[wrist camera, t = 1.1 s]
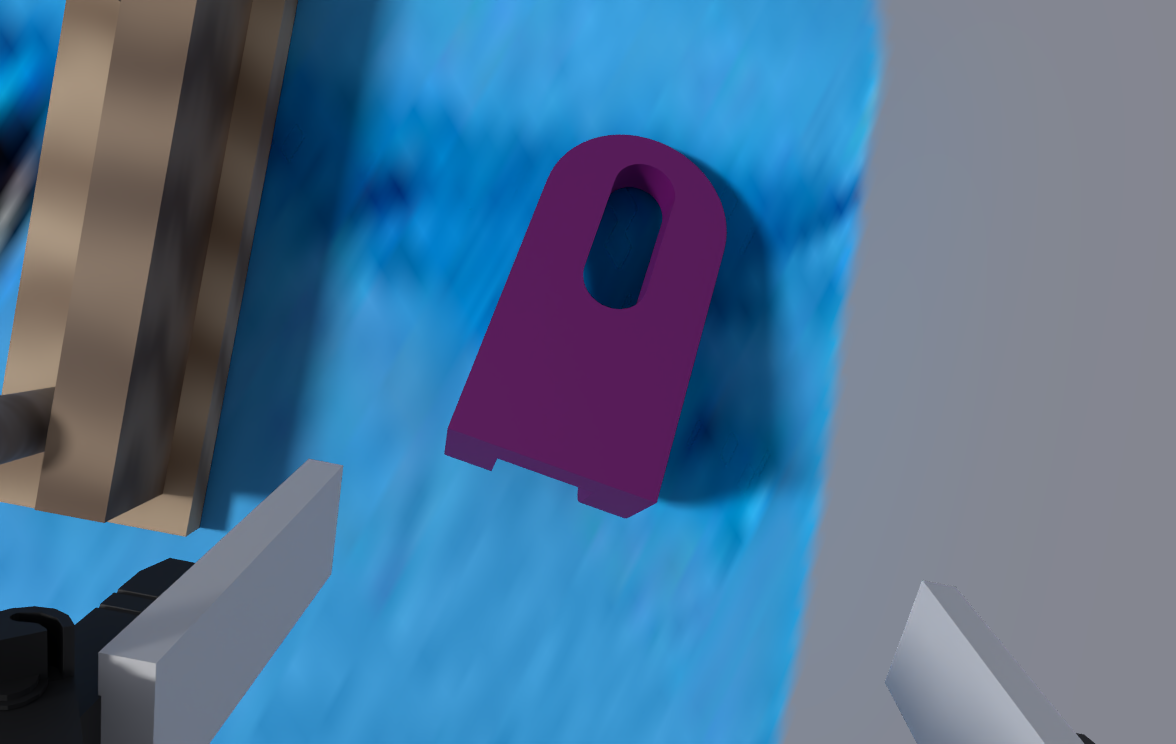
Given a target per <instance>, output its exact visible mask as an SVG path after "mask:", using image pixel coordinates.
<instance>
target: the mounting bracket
mask: <svg viewBox="0 0 1176 744" xmlns="http://www.w3.org/2000/svg"><path fill="white" fill-rule="evenodd" d="M623 187H635V188H639V189H642V190H644V191H646V192H647V193H649V194H650V195H651V196H653V197H654V198H655V200H656V201H657V202H658V204H659V206H660V208H661V211H662V224H661V227H660V230H659V234H658V237H657V240H656V243H655V246H654V250H653V253H652V256H651V259H650V262H649V265H648V269H647V272H646V275H645V278H644V281H643V285H642V288H641V291H640V294H639V297H638V301H637V304H636V305H634V306H633V307H630V308H626V309H613V308H609V307H606V306H604V305H602V304H600V303H598V302H597V301H596V300H595V299H594V298H593V297H592V296H591V295H590V294H589V292H588V291H587V289H586V287H585V284H584V280H583V270H584V266H585V263H586V260H587V258H588V255H589V252H590V249H591V246H592V243H593V241H594V238H595V235H596V232H597V229H598V227H599V224H600V221H601V218H602V215H603V212H604V210H605V207H606V204H607V201H608V198H609V195H610V194H611V193H612V192H613V191H615V190H617V189H619V188H623ZM726 233H727V232H726V220H725V214H724V210H723V207H722V204H721V201H720V199H719V197H718V195H717V193H716V191H715V189H714V187H713V186H712V184H711V183H710V181H709V180H708V179H707V177H706V176H705V175H704V173H703V172H702V171H701V170H700V169H699V168H698V167H697V166H696V165H695V164H694V163H692V162H691V161H690V160H689V159H688V158H686V157H685V156H684V155H682V154H681V153H679V152H678V151H676V150H674V149H672V148H671V147H669V146H667V145H664V144H662V143H660V142H657V141H654V140H651V139H648V138H644V137H639V136H632V135H608V136H602V137H598V138H594V139H591V140H588V141H586V142H583V143H581V144H580V145H578V146H576V147H574V148H573V149H571V150H570V151H569V152H567V153H566V154H565V155H564V156H563V157H562V158H561V159H560V160H559V161H558V162H557V164H556V165H555V166H554V168H553V170H552V171H551V173H550V175H549V177H548V179H547V182H546V184H545V187H544V189H543V192H542V194H541V197H540V199H539V202H538V204H537V207H536V209H535V212H534V214H533V217H532V219H531V222H530V224H529V227H528V229H527V232H526V234H525V237H524V239H523V242H522V244H521V247H520V249H519V252H518V254H517V257H516V259H515V262H514V264H513V267H512V269H511V272H510V274H509V277H508V279H507V282H506V284H505V287H504V289H503V292H502V294H501V297H500V299H499V301H498V304H497V306H496V309H495V311H494V314H493V316H492V319H491V321H490V324H489V326H488V329H487V331H486V334H485V336H484V339H483V341H482V344H481V346H480V349H479V351H478V354H477V356H476V359H475V361H474V364H473V366H472V369H471V371H470V374H469V376H468V379H467V381H466V384H465V386H464V389H463V391H462V394H461V396H460V399H459V401H458V404H457V406H456V409H455V411H454V414H453V416H452V419H451V421H450V424H449V426H448V430H447V438H446V445H445V453H444V454H445V455H447V456H450V457H453V458H456V459H459V460H462V461H464V462H467V463H470V464H473V465H476V466H478V467H481V468H484V469H487V470H490V471H492V469H493V466H494V464H495V462H496V460H497V458H498V459H501V460H504V461H506V462H509V463H512V464H515V465H518V466H520V467H523V468H526V469H529V470H532V471H535V472H537V473H540V474H543V475H546V476H549V477H551V478H554V479H557V480H560V481H563V482H565V483H568V484H571V485H574V486H577V487H578V501H579V502H580V503H583V504H586V505H589V506H591V507H594V508H597V509H600V510H603V511H606V512H608V513H611V514H614V515H617V516H620V517H622V518H628V517H630V516H632V515H634V514H636V513H638V512H640V511H642V510H644V509H646V508H648V507H650V506H651V505H653V504H655V503H657V499H658V495H659V492H660V488H661V484H662V480H663V477H664V473H665V469H666V466H667V462H668V458H669V454H670V451H671V447H672V443H673V439H674V436H675V432H676V428H677V424H678V421H679V417H680V413H681V409H682V406H683V402H684V398H685V394H686V391H687V387H688V383H689V379H690V376H691V372H692V368H693V365H694V361H695V357H696V353H697V350H698V346H699V342H700V338H701V335H702V331H703V327H704V323H705V320H706V316H707V312H708V308H709V305H710V301H711V297H712V293H713V290H714V286H715V282H716V279H717V275H718V271H719V267H720V264H721V260H722V256H723V252H724V248H725V243H726Z"/></svg>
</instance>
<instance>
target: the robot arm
mask: <svg viewBox="0 0 1176 744" xmlns="http://www.w3.org/2000/svg"><path fill="white" fill-rule="evenodd" d="M342 471H343V465H338V464H333V463H328V462H323V461H317V460H312V459H308V460H307V461H306V462H305V463H304V464H303V465H302V466H301V467H299V468H298V469H297V470H296V471H295V472H294V473H293V474H292V475H291V476H290V477H289V478H288V479H286V480H285V481H284V482H283V483H282V484H281V485H280V486H279V487H278V488H277V489H276V490H274V491H273V492H272V493H271V494H270V495H269V496H268V497H267V498H266V499H265V500H264V501H263V502H261V503H260V504H259V505H258V506H257V507H256V508H255V509H254V510H253V511H252V512H251V513H249V514H248V515H247V516H246V517H245V518H244V519H243V520H242V521H241V522H240V523H239V524H238V525H236V526H235V527H234V528H233V529H232V530H231V531H230V532H229V533H228V534H227V535H226V536H224V537H223V538H222V539H221V540H220V541H219V542H218V543H217V544H216V545H215V546H214V547H213V548H211V549H210V550H209V551H208V552H207V553H206V554H205V555H204V556H203V557H202V558H201V559H199V560H198V561H197V562H196V563H193V562H188V561H183V560H178V559H172V558H169V559H166V560H164V561H162V562H160V563H157V564H155V565H153V566H151V567H148V568H146V569H144V570H141V571H139V572H138V573H137V574H136V575H135V576H133V577H132V578H131V579H130V580H129V581H127V582H126V583H125V584H124V585H123V586H121V587H120V588H119V589H118V592H117V593H113V594H112V595H111V596H109V597H108V598H107V599H106V600H104V601H103V602H102V603H101V604H100V607H99V608H95V609H94V610H92V611H91V612H90V613H89V614H88V615H86V616H85V617H84V618H83V619H82V620H80V621H79V622H78V623H77V624H76V625H74V623H73V622H72V620H71V618H70V617H69V615H67V614H65V613H63V612H61V611H58V610H56V609H53V608H44V607H36V606H33V607H22V608H11V609H7V610H4V611H0V744H209V743H210V742H211V740H212V739H213V738H214V736H215V735H216V733H217V732H218V731H219V729H220V728H221V727H222V725H223V724H224V722H225V721H226V720H227V718H228V717H229V715H230V714H231V713H232V711H233V710H234V708H235V707H236V706H237V704H238V703H239V701H240V700H241V699H242V697H243V696H244V695H245V693H246V692H247V690H248V689H249V688H250V686H251V685H252V683H253V682H254V681H255V679H256V678H257V676H258V675H259V674H260V672H261V671H262V669H263V668H264V667H265V665H266V664H267V662H268V661H269V660H270V658H271V657H272V656H273V654H274V653H275V651H276V650H277V649H278V647H279V646H280V644H281V643H282V642H283V640H284V639H285V637H286V636H287V635H288V633H289V632H290V630H291V629H292V628H293V626H294V625H295V624H296V622H297V621H298V619H299V618H300V617H301V615H302V614H303V612H304V611H305V610H306V608H307V607H308V605H309V604H310V603H311V601H312V600H313V598H314V597H315V596H316V594H317V593H318V592H319V590H320V589H321V587H322V586H323V585H324V583H325V582H326V580H327V579H328V578H329V576H330V575H331V571H332V562H333V552H334V543H335V534H336V525H337V516H338V507H339V498H340V489H341V480H342ZM885 684H886V685H887V687H888V689H889V691H890V693H891V695H892V697H893V699H894V701H895V702H896V705H897V706H898V708H899V710H900V712H901V714H902V716H903V718H904V720H905V721H906V724H907V725H908V727H909V729H910V731H911V733H912V735H913V737H914V739H915V741H916V743H917V744H1095V743H1094V742H1092V741H1091V740H1090V739H1089V738H1087V737H1086V736H1085V735H1083V734H1078V733H1075V732H1074V731H1073V729H1072V728H1071V727H1070V726H1069V724H1068V723H1067V722H1066V721H1065V720H1064V718H1063V717H1062V716H1061V715H1060V713H1059V712H1058V711H1057V710H1056V709H1055V707H1054V706H1053V705H1052V704H1051V702H1050V701H1049V700H1048V699H1047V698H1046V696H1045V695H1044V694H1043V693H1042V691H1041V690H1040V689H1039V688H1038V686H1037V685H1036V684H1035V683H1034V682H1033V680H1032V679H1031V678H1030V677H1029V676H1028V674H1027V673H1026V672H1025V671H1024V669H1023V668H1022V667H1021V666H1020V665H1019V663H1018V662H1017V661H1016V660H1015V658H1014V657H1013V656H1012V655H1011V653H1010V652H1009V651H1008V650H1007V649H1006V648H1005V646H1004V645H1003V644H1002V642H1001V641H1000V640H999V639H998V638H997V636H996V635H995V634H994V633H993V632H992V630H991V629H990V628H989V627H988V625H987V624H986V623H985V622H984V620H983V619H982V618H981V617H980V616H979V614H978V613H977V612H976V611H975V609H974V608H973V607H972V606H971V605H970V603H969V602H968V601H967V600H966V599H965V597H964V596H963V595H962V594H961V592H960V591H959V590H958V589H957V587H955V586H949V585H945V584H939V583H934V582H930V581H924V580H922V583H921V585H920V588H919V591H918V594H917V596H916V599H915V602H914V604H913V607H912V610H911V613H910V615H909V618H908V621H907V624H906V626H905V629H904V632H903V635H902V637H901V640H900V642H899V645H898V648H897V651H896V653H895V656H894V659H893V662H892V664H891V667H890V670H889V672H888V675H887V678H886V681H885Z"/></svg>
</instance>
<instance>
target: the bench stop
mask: <svg viewBox="0 0 1176 744" xmlns="http://www.w3.org/2000/svg"><path fill="white" fill-rule="evenodd" d="M297 2H298V0H66V5H65V11H64V17H63V23H62V30H61V36H60V42H59V48H58V54H57V60H56V66H55V72H54V78H53V84H52V91H51V97H50V103H49V109H48V115H47V121H46V127H45V133H44V139H43V145H42V152H41V158H40V164H39V170H38V176H37V182H36V188H35V194H34V200H33V206H32V213H31V219H30V225H29V231H28V237H27V243H26V249H25V255H24V261H23V267H22V274H21V280H20V286H19V292H18V298H17V304H16V310H15V316H14V322H13V328H12V335H11V341H10V347H9V353H8V359H7V365H6V371H5V377H4V383H3V390H2V395H0V502H5V503H10V504H15V505H21V506H26V507H31V508H35V510H39V511H44V512H50V513H55V514H60V515H65V516H71V517H76V518H81V519H87V520H92V521H97V522H103V523H105V522H111V523H116V524H122V525H127V526H132V527H137V528H143V529H148V530H153V531H159V532H164V533H169V534H175V535H180V536H185V537H186V536H187V535H189V534H190V533H192V532H193V531H195V530H197V529H198V528H199V526H200V521H201V516H202V510H203V505H204V500H205V494H206V489H207V484H208V478H209V473H210V468H211V462H212V457H213V452H214V446H215V441H216V436H217V430H218V425H219V419H220V414H221V409H222V403H223V398H224V393H225V387H226V382H227V377H228V371H229V366H230V361H231V355H232V350H233V345H234V339H235V334H236V329H237V323H238V318H239V313H240V307H241V302H242V296H243V291H244V286H245V280H246V275H247V270H248V264H249V259H250V254H251V248H252V243H253V238H254V232H255V227H256V222H257V216H258V211H259V206H260V200H261V195H262V190H263V184H264V179H265V173H266V168H267V163H268V157H269V152H270V147H271V141H272V136H273V131H274V125H275V120H276V115H277V109H278V104H279V99H280V93H281V88H282V83H283V77H284V72H285V67H286V61H287V56H288V50H289V45H290V40H291V34H292V29H293V24H294V18H295V13H296V8H297Z"/></svg>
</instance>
